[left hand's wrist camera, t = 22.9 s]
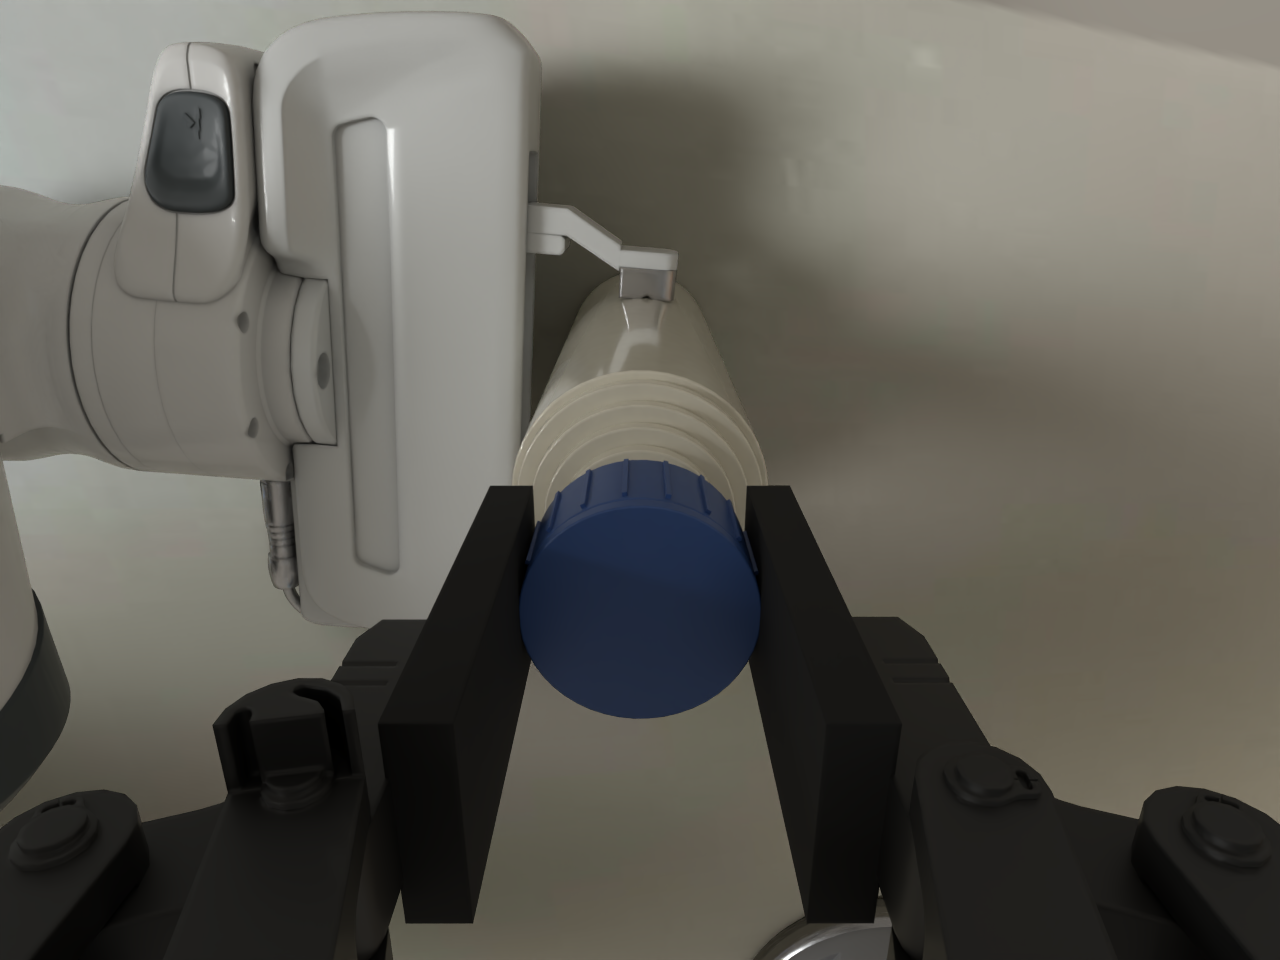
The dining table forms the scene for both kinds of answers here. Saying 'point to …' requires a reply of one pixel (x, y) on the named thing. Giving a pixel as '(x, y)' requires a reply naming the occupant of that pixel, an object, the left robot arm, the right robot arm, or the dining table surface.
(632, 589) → the cap
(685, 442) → the bottle
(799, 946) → the left robot arm
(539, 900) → the dining table surface
